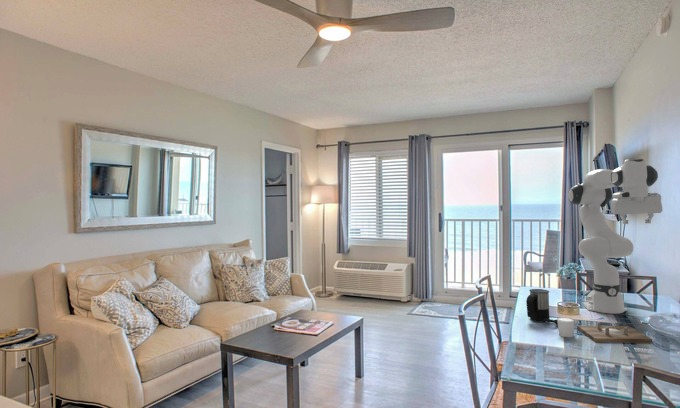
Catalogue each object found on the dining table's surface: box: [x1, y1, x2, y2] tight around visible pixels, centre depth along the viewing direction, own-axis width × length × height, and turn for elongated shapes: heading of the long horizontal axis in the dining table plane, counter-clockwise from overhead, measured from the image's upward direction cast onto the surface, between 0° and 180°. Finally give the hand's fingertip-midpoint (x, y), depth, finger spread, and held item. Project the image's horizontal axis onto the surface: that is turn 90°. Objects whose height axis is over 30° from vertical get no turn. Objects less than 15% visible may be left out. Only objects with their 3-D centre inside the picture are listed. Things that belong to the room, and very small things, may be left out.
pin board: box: [576, 321, 653, 344], centre depth 182 cm, size 18×22×5 cm
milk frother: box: [526, 288, 558, 326], centre depth 205 cm, size 14×16×15 cm
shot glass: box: [556, 317, 575, 338], centre depth 185 cm, size 7×7×7 cm
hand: (636, 223), depth 190 cm, fingers open, 8 cm apart
